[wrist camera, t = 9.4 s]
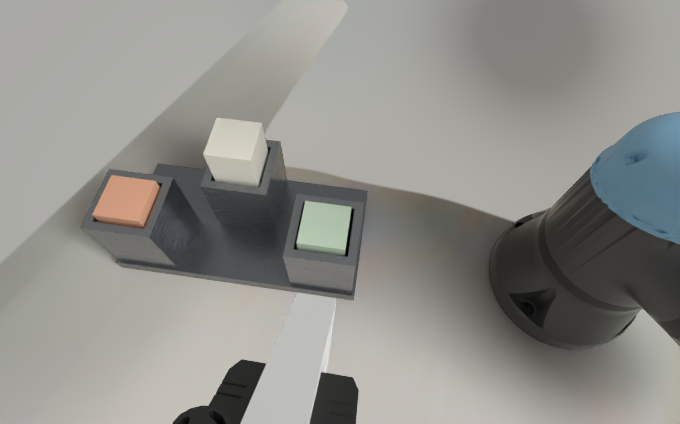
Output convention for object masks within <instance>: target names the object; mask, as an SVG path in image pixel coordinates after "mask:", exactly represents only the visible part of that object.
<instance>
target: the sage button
mask: <svg viewBox="0 0 680 424" xmlns="http://www.w3.org/2000/svg"><path fill="white" fill-rule="evenodd" d="M351 208H352V207H349V206H341V205H334V204H326V203H319V202H311V201H305V205H304V209H303V214H302V219H301V224H300V229H299V233H298V238H297V249H298V250H302V251H309V252H316V253H324V254H331V255H338V256H345V257H346V256H347V249H348V240H349V229H350V219H351Z"/></svg>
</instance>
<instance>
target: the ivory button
mask: <svg viewBox="0 0 680 424" xmlns="http://www.w3.org/2000/svg"><path fill="white" fill-rule="evenodd" d="M203 155H204V158H205V160H206V162H207V164H208V166H209V168H210V171H211V173H212V175H213V177H214V179H215V181H216V182H224V183H232V184H239V185H247V186H254V187H260V185H261V182H262V178H263V174H264V171H265V167H266V164H267V160H268V156H269V152H268V148H267V143H266V139H265V135H264V130H263V126H262V123H258V122H250V121H242V120H234V119H225V118H216V121H215V123H214V126H213V129H212V132H211V134H210V137H209V140H208V142H207V145H206V148H205V150H204V153H203Z"/></svg>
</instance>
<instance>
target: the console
mask: <svg viewBox="0 0 680 424" xmlns="http://www.w3.org/2000/svg"><path fill="white" fill-rule="evenodd" d="M266 143H267V148H268V152H269V156H268V160H267V164H266V167H265V171H264V174H263V178H262V182H261V185H260V187H254V186H247V185H239V184H232V183H224V182H216V181H215V179H214V177H213V175H212V173H211V171H210V168H209V166H207V169H206V170H203V169H195V168H187V167H180V166H172V165H164V164H158V166H157V168H156V171H155V173H154V175H150V174H142V173H134V172H127V171H119V170H112V169H109V171H108V173H107V175H106V177H105V179H104V181H103V183H102V185H101V187H100V189H99V191H98V193H97V195H96V197H95V199H94V201H93V203H92V205H91V207H90V209H89V211H88V213H87V215H86V217H85V219H84V221H83V223H82V225H81V227H80V228H81V229H82V230H83V231H84V232H86V233H87V234H88V235H89V236H91V237H92V238H93V239H94V240H96V241H97V242H98V243H99V244H101V245H102V246H103V247H104V248H106V249H107V250H108V251H109V252H110V253H112V254H113V255H114V256H115V257H117V258H118V259H117V261H116V263H118V264H119V265H120V266H122V267H125V268H132V269H139V270H146V271H153V272H160V273H167V274H174V275H181V276H188V277H195V278H202V279H209V280H216V281H223V282H230V283H237V284H244V285H250V286H257V287H264V288H271V289H278V290H285V291H292V292H299V293H306V294H313V295H320V296H327V297H334V298H341V299H348V300H354V293H355V285H356V277H357V269H358V261H359V254H360V246H361V238H362V230H363V222H364V214H365V206H366V198H367V191H364V190H356V189H349V188H341V187H333V186H326V185H318V184H310V183H303V182H295V181H287V177H286V171H285V166H284V160H283V154H282V148H281V144H280V142H279V141H271V140H266ZM111 175H115V176H122V177H130V178H137V179H145V180H152V181H156V182H157V184H158V185H159V187H160V188H161V189H160V191H159V194H158V196H157V199H156V201H155V203H154V206H153V208H152V211H151V213H150V216H149V218H148V220H147V223H146V225H145V228H144V229H143V228H136V227H128V226H121V225H114V224H107V223H100V222H99V221H98V220H97V219H96V218H95V217H94V216H93V215H92V214H93V212H94V210H95V208H96V206H97V204H98V202H99V200H100V197H101V195H102V193H103V191H104V189H105V187H106V185H107V183H108V181H109V179H110V177H111ZM305 201H311V202H319V203H326V204H334V205H341V206H349V207H352V208H351V219H350V229H349V240H348V249H347V256H346V257H345V256H338V255H331V254H324V253H316V252H309V251H302V250H298V249H297V238H298V233H299V229H300V224H301V219H302V214H303V209H304V205H305Z"/></svg>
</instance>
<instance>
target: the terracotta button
mask: <svg viewBox="0 0 680 424" xmlns="http://www.w3.org/2000/svg"><path fill="white" fill-rule="evenodd" d="M160 189H161V188H160V187H159V185H158V184H157V182H156V181H152V180H145V179H137V178H130V177H122V176H115V175H111V177H110V179H109V181H108V183H107V185H106V187H105V189H104V191H103V193H102V195H101V197H100V200H99V202H98V204H97V206H96V208H95V210H94V212H93V214H92V215H93V216H94V217H95V218H96V219H97V220H98V221H99V222H100V223H107V224H114V225H121V226H128V227H136V228H143V229H144V228H145V225H146V223H147V220H148V218H149V216H150V213H151V211H152V208H153V206H154V203H155V201H156V199H157V196H158V194H159V191H160Z"/></svg>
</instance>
